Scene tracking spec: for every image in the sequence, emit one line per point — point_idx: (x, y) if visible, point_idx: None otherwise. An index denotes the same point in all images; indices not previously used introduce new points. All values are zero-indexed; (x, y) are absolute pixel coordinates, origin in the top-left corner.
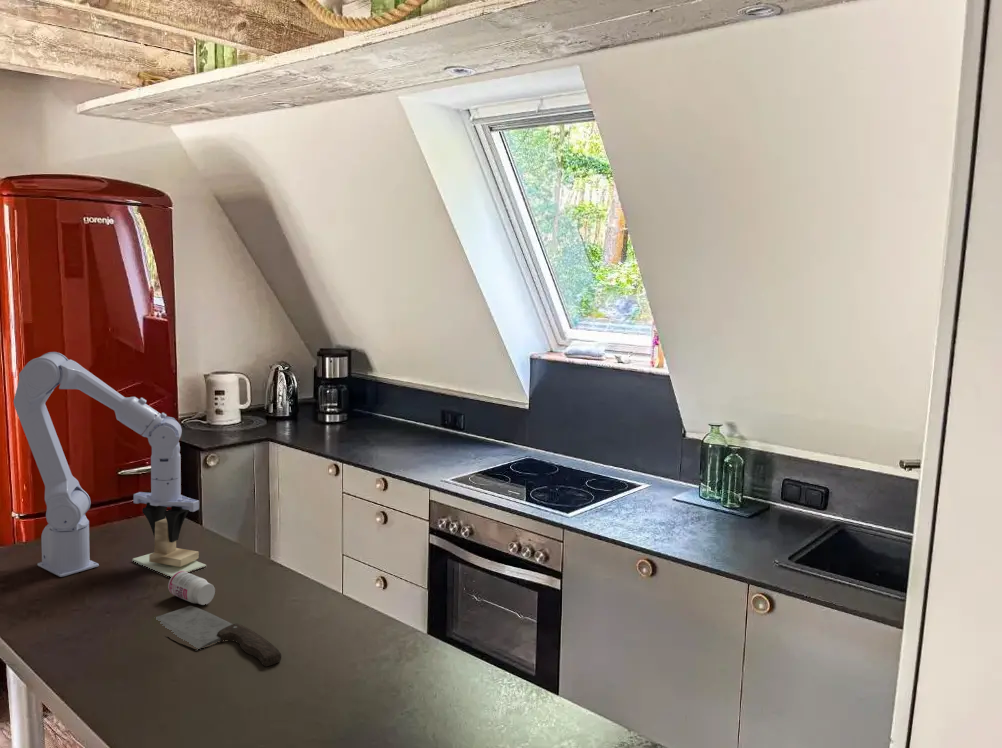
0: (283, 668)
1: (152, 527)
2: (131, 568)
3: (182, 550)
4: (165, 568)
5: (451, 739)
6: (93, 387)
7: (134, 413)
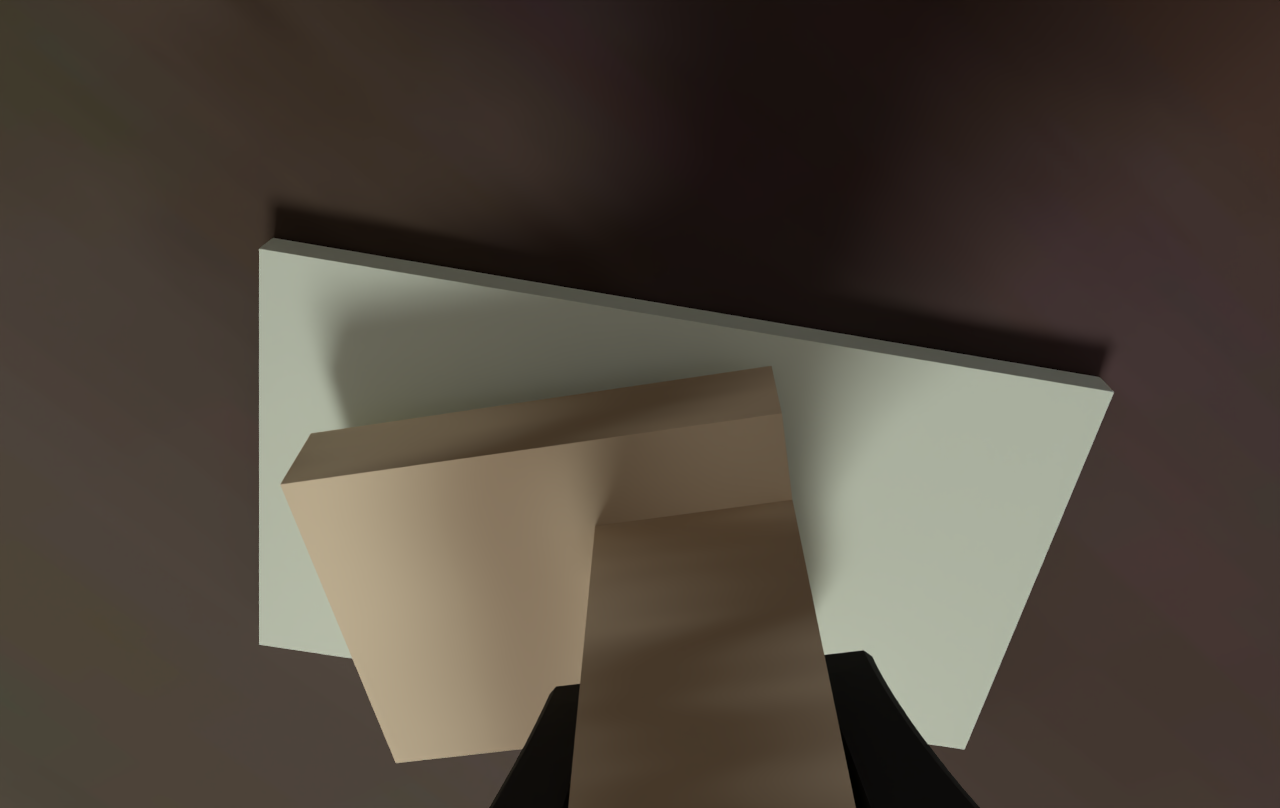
0: None
1: (920, 787)
2: (953, 218)
3: None
4: (523, 372)
5: None
6: None
7: None
